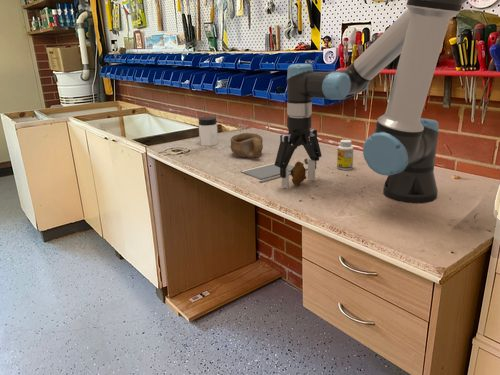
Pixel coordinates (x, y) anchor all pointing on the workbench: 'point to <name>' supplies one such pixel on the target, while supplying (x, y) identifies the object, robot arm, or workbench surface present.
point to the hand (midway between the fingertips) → (298, 182)
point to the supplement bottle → (345, 155)
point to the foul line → (273, 178)
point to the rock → (298, 172)
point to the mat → (264, 171)
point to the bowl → (247, 145)
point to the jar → (208, 131)
